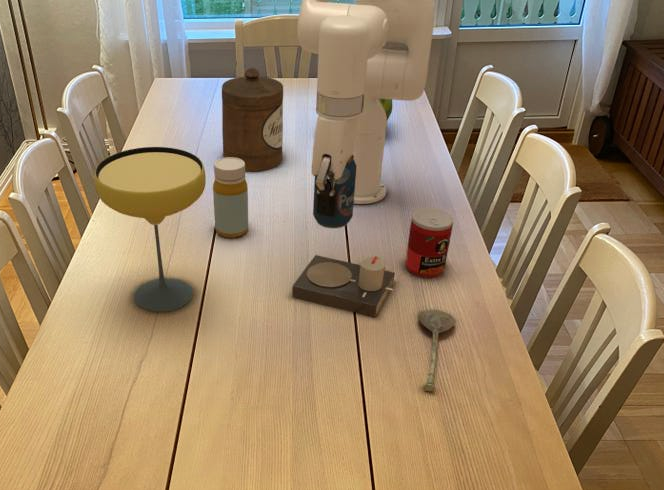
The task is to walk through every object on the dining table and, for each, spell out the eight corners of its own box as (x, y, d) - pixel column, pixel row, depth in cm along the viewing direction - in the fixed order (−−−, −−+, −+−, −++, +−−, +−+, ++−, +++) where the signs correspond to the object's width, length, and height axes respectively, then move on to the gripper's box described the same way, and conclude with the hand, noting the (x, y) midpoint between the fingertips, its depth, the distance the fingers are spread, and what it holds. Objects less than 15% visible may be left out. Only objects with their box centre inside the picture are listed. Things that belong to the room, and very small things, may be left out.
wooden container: (282, 172, 174) (283, 79, 160) (221, 171, 174) (217, 79, 161) (282, 147, 186) (283, 59, 172) (225, 147, 186) (221, 58, 172)
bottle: (244, 240, 149) (242, 172, 139) (211, 237, 150) (207, 169, 140) (251, 224, 154) (250, 157, 144) (220, 221, 155) (216, 155, 146)
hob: (292, 297, 133) (292, 285, 131) (314, 265, 141) (315, 253, 140) (382, 319, 127) (383, 306, 126) (400, 285, 136) (402, 273, 134)
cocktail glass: (124, 268, 140) (106, 145, 124) (216, 270, 140) (210, 146, 124) (105, 323, 126) (81, 192, 110) (207, 325, 126) (198, 194, 110)
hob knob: (378, 293, 129) (381, 270, 126) (355, 288, 130) (357, 265, 127) (385, 281, 132) (388, 258, 129) (362, 276, 134) (364, 253, 131)
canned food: (421, 282, 137) (429, 231, 130) (396, 262, 142) (403, 212, 135) (453, 272, 139) (462, 221, 133) (427, 253, 145) (436, 203, 138)
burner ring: (316, 259, 138) (316, 258, 138) (357, 269, 136) (357, 267, 135) (300, 281, 132) (300, 280, 132) (343, 292, 130) (343, 290, 129)
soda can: (346, 233, 123) (351, 167, 116) (307, 226, 125) (310, 161, 117) (356, 215, 128) (361, 150, 121) (318, 209, 130) (322, 145, 122)
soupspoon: (455, 319, 129) (418, 315, 130) (457, 303, 127) (420, 299, 128) (448, 395, 112) (406, 389, 113) (451, 378, 110) (408, 372, 111)
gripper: (335, 82, 121) (329, 181, 132) (297, 117, 108) (294, 223, 120) (378, 89, 119) (369, 188, 130) (344, 125, 106) (337, 232, 117)
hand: (333, 204), depth 125 cm, fingers closed on soda can, 7 cm apart
